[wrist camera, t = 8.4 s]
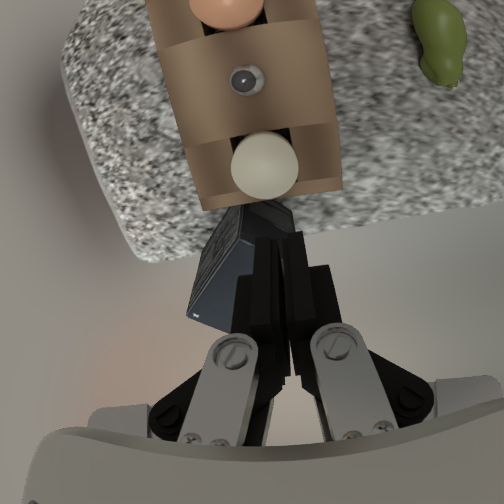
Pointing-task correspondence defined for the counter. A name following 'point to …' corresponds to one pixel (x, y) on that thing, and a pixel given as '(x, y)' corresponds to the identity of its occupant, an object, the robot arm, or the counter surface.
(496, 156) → the counter surface
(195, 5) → the knob terracotta
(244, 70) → the pot stem
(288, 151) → the knob cream
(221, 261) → the small box
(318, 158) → the wooden condiment caddy
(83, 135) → the counter surface
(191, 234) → the counter surface
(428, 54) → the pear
